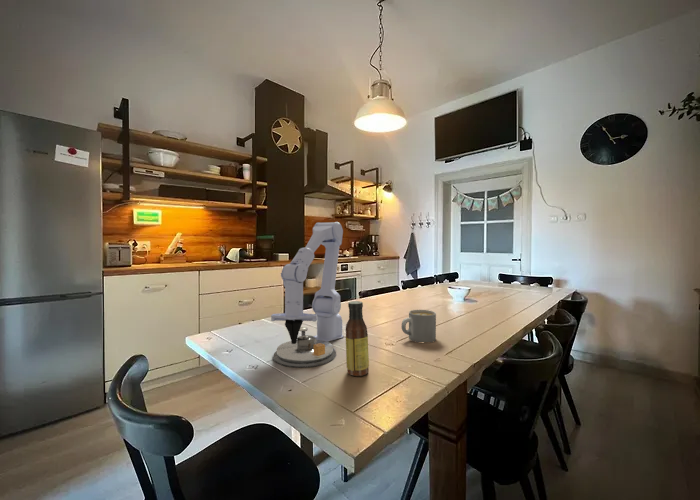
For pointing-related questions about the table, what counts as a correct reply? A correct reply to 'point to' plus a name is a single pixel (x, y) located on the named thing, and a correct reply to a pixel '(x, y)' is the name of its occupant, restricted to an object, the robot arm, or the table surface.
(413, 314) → the coffee mug
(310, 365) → the turntable base
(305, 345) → the cover
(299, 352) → the turntable
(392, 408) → the table surface
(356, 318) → the sauce bottle
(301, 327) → the small grey dumbbell
